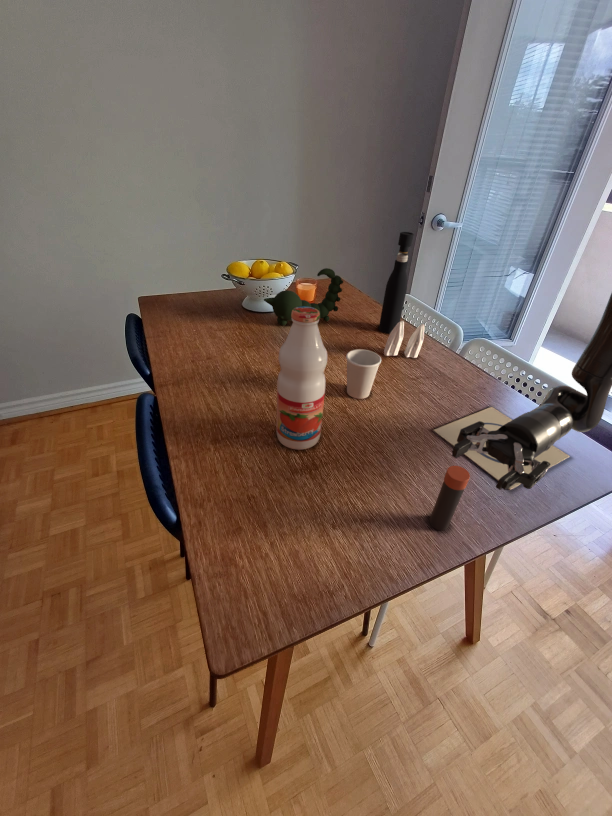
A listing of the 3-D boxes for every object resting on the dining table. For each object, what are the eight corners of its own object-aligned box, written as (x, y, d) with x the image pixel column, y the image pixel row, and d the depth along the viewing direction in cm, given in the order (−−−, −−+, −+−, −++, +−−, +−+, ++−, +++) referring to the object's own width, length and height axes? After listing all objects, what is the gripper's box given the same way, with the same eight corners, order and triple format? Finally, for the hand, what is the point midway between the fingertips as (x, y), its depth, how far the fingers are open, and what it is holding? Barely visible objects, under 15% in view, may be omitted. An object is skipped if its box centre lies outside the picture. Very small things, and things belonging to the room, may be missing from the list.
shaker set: (383, 361, 114) (390, 325, 107) (378, 354, 117) (385, 318, 111) (422, 358, 116) (431, 323, 110) (415, 351, 120) (424, 317, 113)
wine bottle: (399, 334, 129) (420, 236, 112) (380, 333, 129) (397, 235, 111) (396, 326, 134) (415, 231, 117) (377, 325, 134) (394, 230, 117)
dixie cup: (373, 404, 96) (380, 368, 90) (339, 398, 97) (344, 362, 91) (375, 386, 103) (382, 351, 97) (343, 381, 104) (348, 346, 98)
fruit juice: (315, 421, 89) (326, 300, 73) (324, 449, 82) (339, 321, 65) (273, 424, 87) (275, 301, 71) (279, 452, 80) (282, 323, 64)
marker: (453, 526, 68) (474, 476, 61) (439, 534, 66) (459, 484, 59) (438, 512, 70) (457, 462, 63) (424, 519, 68) (442, 469, 61)
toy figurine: (328, 319, 140) (258, 318, 132) (338, 265, 129) (263, 260, 121) (338, 331, 132) (264, 330, 124) (349, 274, 122) (270, 269, 114)
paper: (569, 456, 84) (570, 455, 84) (510, 490, 75) (510, 489, 75) (491, 407, 98) (491, 406, 98) (433, 430, 89) (433, 429, 89)
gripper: (501, 399, 75) (446, 427, 67) (577, 441, 66) (525, 479, 58) (488, 430, 80) (435, 459, 72) (558, 473, 71) (507, 512, 63)
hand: (476, 468), depth 65 cm, fingers open, 8 cm apart
